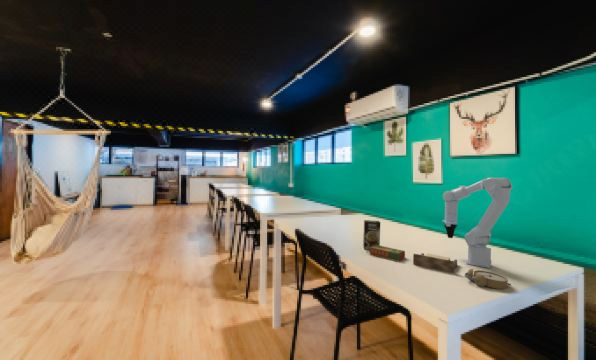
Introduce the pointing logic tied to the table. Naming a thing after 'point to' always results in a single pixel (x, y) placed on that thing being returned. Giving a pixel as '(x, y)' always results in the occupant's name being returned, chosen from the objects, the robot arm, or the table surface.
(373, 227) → the coffee box
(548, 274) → the table surface
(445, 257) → the small carton
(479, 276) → the alarm clock
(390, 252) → the carton
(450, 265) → the frame
